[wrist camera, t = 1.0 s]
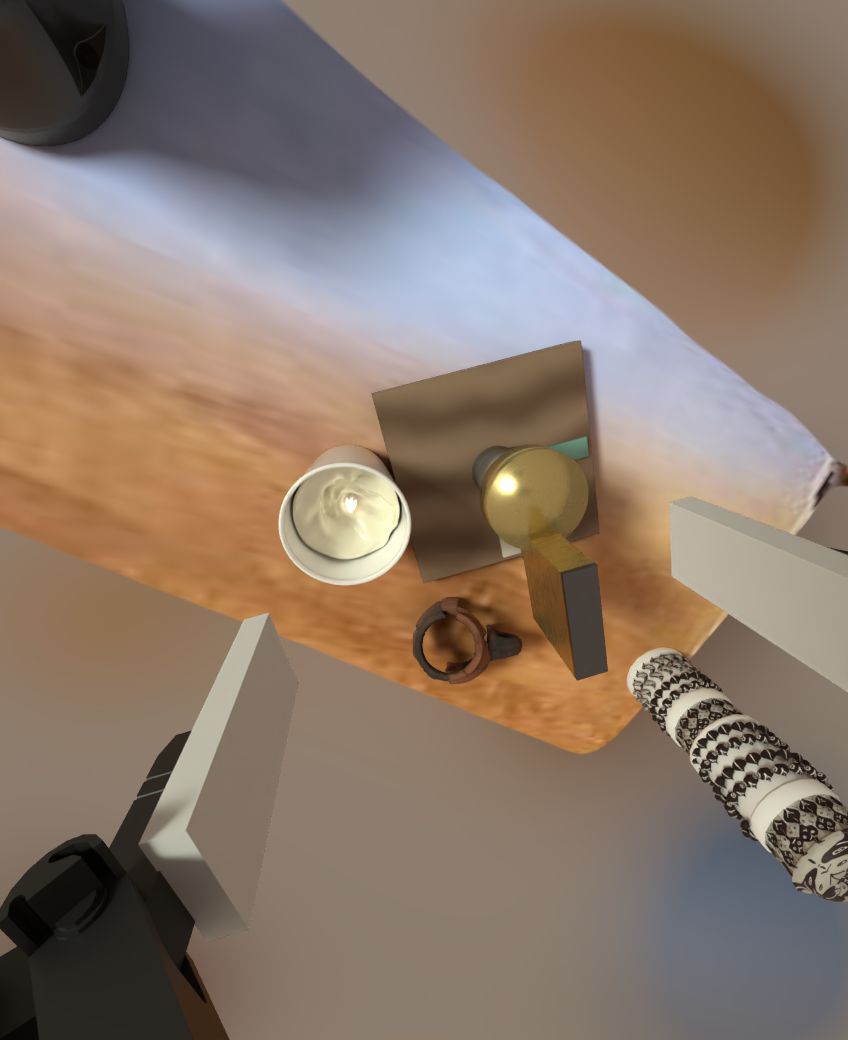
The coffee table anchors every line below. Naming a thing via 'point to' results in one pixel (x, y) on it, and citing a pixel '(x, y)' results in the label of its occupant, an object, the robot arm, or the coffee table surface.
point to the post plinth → (481, 448)
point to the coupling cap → (550, 548)
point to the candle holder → (345, 518)
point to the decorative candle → (750, 772)
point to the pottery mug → (485, 652)
